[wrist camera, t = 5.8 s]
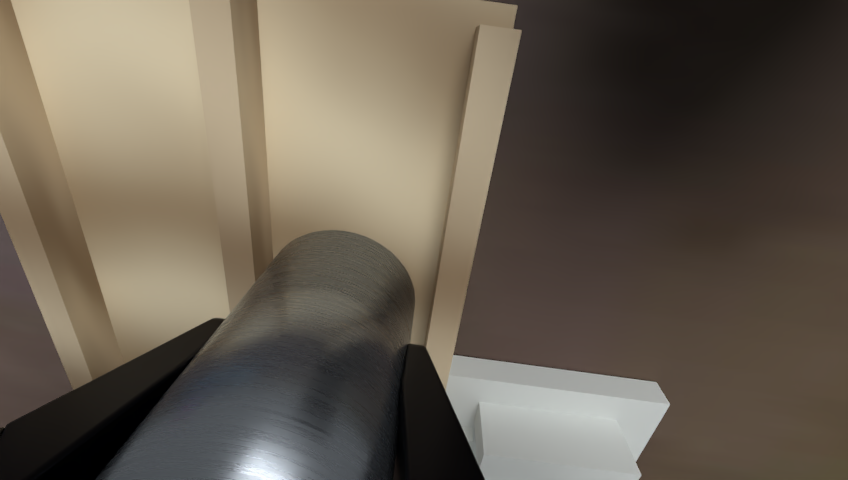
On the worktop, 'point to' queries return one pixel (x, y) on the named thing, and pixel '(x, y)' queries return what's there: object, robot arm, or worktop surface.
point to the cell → (290, 376)
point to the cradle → (552, 420)
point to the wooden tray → (240, 153)
